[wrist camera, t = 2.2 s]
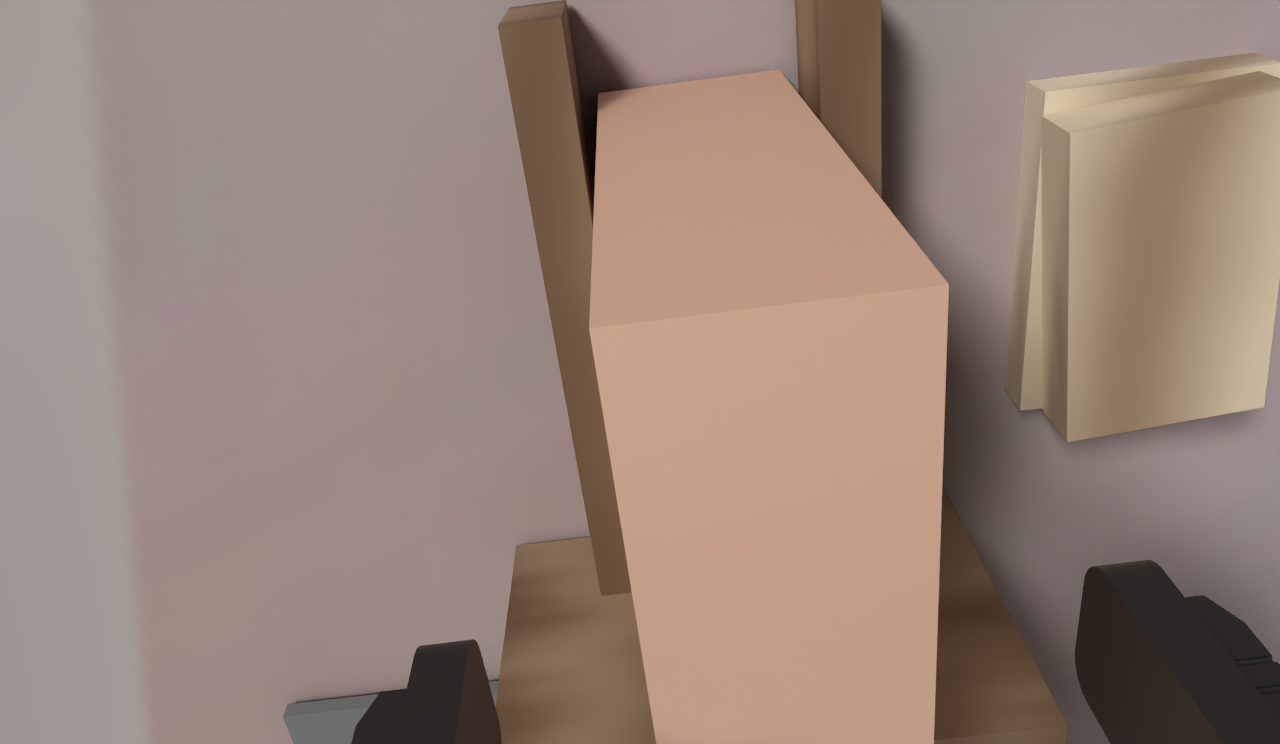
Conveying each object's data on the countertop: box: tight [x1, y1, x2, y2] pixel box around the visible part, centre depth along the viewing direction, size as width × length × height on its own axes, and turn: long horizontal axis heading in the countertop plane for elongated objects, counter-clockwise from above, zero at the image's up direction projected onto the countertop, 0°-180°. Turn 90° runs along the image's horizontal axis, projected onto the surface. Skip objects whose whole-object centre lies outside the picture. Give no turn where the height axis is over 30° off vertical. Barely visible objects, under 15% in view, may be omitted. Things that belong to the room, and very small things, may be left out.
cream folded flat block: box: [1005, 53, 1280, 411], centre depth 23 cm, size 5×8×2 cm, turn 7°
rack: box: [495, 0, 1068, 744], centre depth 20 cm, size 12×15×8 cm
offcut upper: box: [1041, 71, 1280, 443], centre depth 22 cm, size 5×8×2 cm, turn 11°
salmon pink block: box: [589, 70, 949, 744], centre depth 18 cm, size 4×10×12 cm, turn 7°
